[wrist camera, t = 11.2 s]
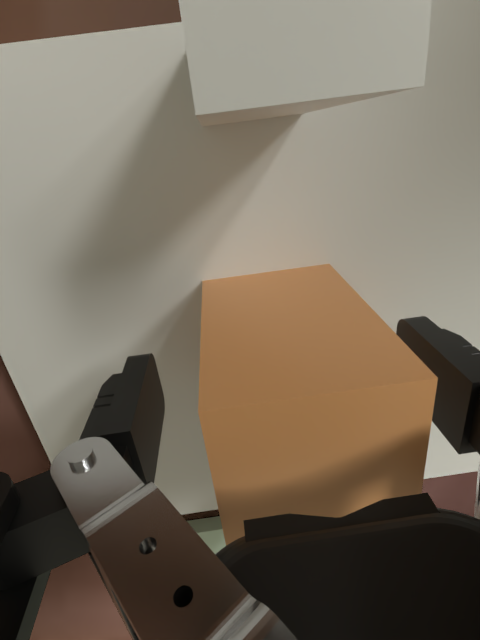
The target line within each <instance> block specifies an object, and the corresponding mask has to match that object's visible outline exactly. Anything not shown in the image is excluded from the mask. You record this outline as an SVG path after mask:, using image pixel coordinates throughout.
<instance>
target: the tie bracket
mask: <svg viewBox="0 0 480 640" xmlns="http://www.w3.org/2000/svg"><path fill="white" fill-rule="evenodd" d="M179 6H180V13H181V20H182V22H177V23H169V24H161V25H153V26H145V27H136V28H128V29H120V30H112V31H104V32H96V33H87V34H79V35H71V36H63V37H55V38H47V39H38V40H30V41H22V42H14V43H6V44H0V355H1V357H2V359H3V361H4V364H5V366H6V368H7V370H8V372H9V374H10V376H11V379H12V381H13V383H14V385H15V387H16V389H17V391H18V394H19V396H20V398H21V400H22V402H23V404H24V406H25V409H26V411H27V413H28V415H29V417H30V419H31V421H32V424H33V426H34V428H35V430H36V432H37V434H38V436H39V439H40V441H41V443H42V445H43V447H44V449H45V451H46V454H47V456H48V458H49V460H50V462H51V464H52V462H53V460H54V459H55V457H56V456H57V455H58V454H59V453H60V452H61V451H62V450H63V449H64V448H66V447H67V446H69V445H70V444H72V443H74V442H76V441H78V440H79V439H80V436H81V434H82V432H83V429H84V427H85V424H86V422H87V420H88V417H89V415H90V412H91V410H92V408H93V405H94V403H95V401H96V399H97V396H98V393H99V391H100V389H101V386H102V384H103V383H104V382H105V381H106V380H107V379H108V378H109V377H110V376H111V375H112V374H118V373H122V371H123V368H124V365H125V363H126V360H127V357H129V356H135V355H142V354H149V353H152V354H153V356H154V358H155V362H156V366H157V370H158V374H159V378H160V382H161V386H162V390H163V394H164V401H165V414H164V420H163V427H162V434H161V440H160V447H159V454H158V460H157V467H156V474H155V481H154V484H155V485H156V486H157V487H158V488H159V490H160V491H161V492H162V493H163V494H164V495H165V497H166V498H167V499H168V500H169V501H170V502H171V504H172V505H173V506H174V507H175V508H176V509H177V511H178V512H179V513H180V514H181V515H183V514H190V513H197V512H203V511H210V510H217V509H218V505H217V500H216V495H215V491H214V486H213V481H212V476H211V471H210V467H209V462H208V457H207V452H206V448H205V443H204V438H203V433H202V429H201V424H200V419H199V414H198V399H199V369H200V338H201V307H202V281H205V280H212V279H220V278H227V277H234V276H242V275H249V274H257V273H264V272H271V271H279V270H286V269H293V268H301V267H308V266H315V265H323V264H330V265H331V266H332V267H333V268H334V269H335V270H336V271H337V272H338V273H339V274H340V275H341V277H342V278H343V279H344V280H345V281H346V282H347V283H348V284H349V285H350V286H351V287H352V288H353V289H354V290H355V291H356V292H357V293H358V294H359V295H360V297H361V298H362V299H363V300H364V301H365V302H366V303H367V304H368V305H369V306H370V307H371V308H372V309H373V310H374V311H375V312H376V313H377V314H378V315H379V316H380V318H381V319H382V320H383V321H384V322H385V323H386V324H387V325H388V326H389V327H390V328H391V329H392V330H393V331H394V332H395V333H396V331H397V324H398V321H399V320H400V319H405V318H413V317H420V316H426V317H427V318H429V319H430V320H431V321H432V322H434V323H435V324H436V325H437V326H438V327H440V328H441V329H446V330H449V331H451V332H453V333H456V334H458V335H461V336H462V337H463V338H464V339H466V340H467V341H468V342H469V343H471V344H472V346H475V347H476V348H477V349H478V350H480V0H179ZM479 462H480V455H479V454H478V452H472V453H465V454H458V453H457V452H456V450H455V449H454V448H453V447H452V445H451V444H450V443H449V442H448V440H447V439H446V438H445V437H444V435H443V434H442V433H441V432H440V430H439V429H438V428H437V427H436V425H435V424H434V423H433V422H432V423H431V430H430V437H429V444H428V451H427V458H426V464H425V471H424V478H423V479H427V478H433V477H440V476H447V475H454V474H460V473H467V472H474V471H478V466H479Z"/></svg>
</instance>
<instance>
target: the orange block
mask: <svg viewBox="0 0 480 640" xmlns="http://www.w3.org/2000/svg"><path fill="white" fill-rule="evenodd" d="M437 381H438V377H437V376H436V375H435V374H434V373H433V372H432V371H431V370H430V369H429V368H428V367H427V366H426V365H425V364H424V363H423V362H422V361H421V360H420V359H419V357H418V356H417V355H416V354H415V353H414V352H413V351H412V350H411V349H410V348H409V347H408V346H407V345H406V344H405V343H404V342H403V341H402V340H401V339H400V337H399V336H398V335H397V334H396V333H395V332H394V331H393V330H392V329H391V328H390V327H389V326H388V325H387V324H386V323H385V322H384V321H383V320H382V319H381V318H380V316H379V315H378V314H377V313H376V312H375V311H374V310H373V309H372V308H371V307H370V306H369V305H368V304H367V303H366V302H365V301H364V300H363V299H362V298H361V297H360V295H359V294H358V293H357V292H356V291H355V290H354V289H353V288H352V287H351V286H350V285H349V284H348V283H347V282H346V281H345V280H344V279H343V278H342V277H341V275H340V274H339V273H338V272H337V271H336V270H335V269H334V268H333V267H332V266H331V265H330V264H323V265H315V266H308V267H301V268H293V269H286V270H279V271H271V272H264V273H257V274H249V275H242V276H234V277H227V278H220V279H212V280H205V281H202V307H201V338H200V369H199V399H198V414H199V419H200V424H201V429H202V433H203V438H204V443H205V448H206V452H207V457H208V462H209V467H210V471H211V476H212V481H213V486H214V491H215V495H216V500H217V505H218V510H219V514H220V519H221V524H222V529H223V534H224V538H225V543H226V545H228V544H230V543H231V542H233V541H235V540H237V539H239V538H241V537H243V536H245V531H244V521H243V520H249V519H255V518H262V517H269V516H275V515H282V514H289V513H290V514H301V515H312V516H324V517H343V516H346V515H348V514H350V513H352V512H355V511H357V510H359V509H362V508H364V507H366V506H369V505H371V504H373V503H375V502H378V501H380V500H382V499H389V498H395V497H402V496H409V495H415V494H421V492H422V485H423V478H424V471H425V464H426V458H427V451H428V444H429V437H430V430H431V423H432V416H433V409H434V402H435V395H436V388H437Z"/></svg>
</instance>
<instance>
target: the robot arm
mask: <svg viewBox="0 0 480 640" xmlns="http://www.w3.org/2000/svg"><path fill="white" fill-rule="evenodd" d="M396 334H397V335H398V336H399V337H400V339H401V340H402V341H403V342H404V343H405V344H406V345H407V346H408V347H409V348H410V349H411V350H412V351H413V352H414V353H415V354H416V355H417V356H418V357H419V359H420V360H421V361H422V362H423V363H424V364H425V365H426V366H427V367H428V368H429V369H430V370H431V371H432V372H433V373H434V374H435V375H436V376H437V377H438V381H437V388H436V395H435V402H434V409H433V416H432V422H433V423H434V424H435V425H436V427H437V428H438V429H439V430H440V432H441V433H442V434H443V435H444V437H445V438H446V439H447V440H448V442H449V443H450V444H451V445H452V447H453V448H454V449H455V450H456V452H457V453H458V454H465V453H472V452H478V454H479V455H480V350H478V349H477V348H476V347H475V346H472V344H471V343H469V342H468V341H467V340H466V339H464V338H463V337H462V336H461V335H458V334H456V333H453V332H451V331H449V330H446V329H441V328H440V327H438V326H437V325H436V324H435V323H434V322H432V321H431V320H430V319H429V318H427V317H426V316H420V317H413V318H405V319H400V320H399V321H398V324H397V331H396ZM164 414H165V401H164V394H163V390H162V386H161V382H160V378H159V374H158V370H157V366H156V362H155V358H154V356H153V354H152V353H149V354H142V355H135V356H129V357H127V360H126V363H125V365H124V368H123V371H122V373H118V374H112V375H111V376H110V377H109V378H108V379H107V380H106V381H105V382H104V383H103V384H102V386H101V389H100V391H99V393H98V396H97V399H96V401H95V403H94V405H93V408H92V410H91V412H90V415H89V417H88V420H87V422H86V424H85V427H84V429H83V432H82V434H81V436H80V439H79V440H78V441H76V442H74V443H72V444H70V445H69V446H67V447H66V448H64V449H63V450H62V451H61V452H60V453H59V454H58V455H57V456H56V457H55V459H54V460H53V462H52V464H51V467H50V470H48V471H46V472H44V473H42V474H39V475H36V476H34V477H31V478H28V479H26V480H23V481H21V482H18V483H15V484H13V482H12V480H11V478H10V476H9V475H8V474H6V473H3V472H0V640H29V639H30V636H31V632H32V629H33V626H34V623H35V620H36V616H37V613H38V610H39V607H40V604H41V600H42V597H43V594H44V591H45V588H46V584H47V581H48V578H49V575H50V572H51V570H52V569H54V568H56V567H58V566H60V565H62V564H65V563H67V562H69V561H71V560H73V559H75V558H78V557H80V556H82V555H84V554H86V553H88V555H89V557H90V559H91V561H92V562H93V564H94V566H95V568H96V570H97V572H98V574H99V576H100V578H101V580H102V582H103V583H104V585H105V587H106V589H107V591H108V593H109V595H110V597H111V599H112V601H113V603H114V604H115V606H116V608H117V610H118V612H119V614H120V616H121V618H122V620H123V622H124V624H125V626H126V628H127V630H128V632H129V634H130V636H131V638H132V640H480V462H479V466H478V478H477V489H476V501H475V513H474V517H472V516H469V515H466V514H463V513H459V512H456V511H451V510H446V509H441V508H436V506H435V504H434V503H433V501H432V499H431V498H430V496H429V495H428V493H422V494H415V495H409V496H402V497H395V498H389V499H382V500H380V501H378V502H375V503H373V504H371V505H369V506H366V507H364V508H362V509H359V510H357V511H355V512H352V513H350V514H348V515H346V516H343V517H324V516H312V515H301V514H290V513H289V514H282V515H275V516H269V517H262V518H255V519H249V520H243V521H244V531H245V536H243V537H241V538H239V539H237V540H235V541H233V542H231V543H230V544H228V545H226V546H225V547H224V548H222V549H221V550H220V551H218V552H217V553H216V554H214V552H213V551H212V550H211V549H210V548H209V547H208V545H207V544H206V543H205V542H204V541H203V540H202V538H201V537H200V536H199V535H198V534H197V533H196V531H195V530H194V529H193V528H192V527H191V526H190V524H189V523H188V522H187V521H186V520H185V519H184V517H183V516H182V515H181V514H180V513H179V512H178V511H177V509H176V508H175V507H174V506H173V505H172V504H171V502H170V501H169V500H168V499H167V498H166V497H165V495H164V494H163V493H162V492H161V491H160V490H159V488H158V487H157V486H156V485H155V484H154V481H155V474H156V467H157V460H158V454H159V447H160V440H161V434H162V427H163V420H164Z"/></svg>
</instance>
